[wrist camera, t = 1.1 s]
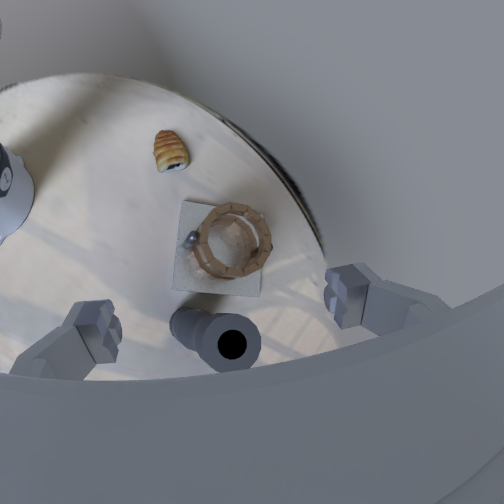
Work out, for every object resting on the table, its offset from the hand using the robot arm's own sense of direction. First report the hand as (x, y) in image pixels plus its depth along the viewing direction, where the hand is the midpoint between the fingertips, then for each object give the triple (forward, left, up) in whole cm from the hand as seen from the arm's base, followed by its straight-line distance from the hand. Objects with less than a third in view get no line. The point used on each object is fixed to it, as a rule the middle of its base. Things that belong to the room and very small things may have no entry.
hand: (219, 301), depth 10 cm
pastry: (-2, +28, -39) cm, 49 cm away
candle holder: (+5, -3, -39) cm, 40 cm away
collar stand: (+10, +11, -39) cm, 42 cm away
